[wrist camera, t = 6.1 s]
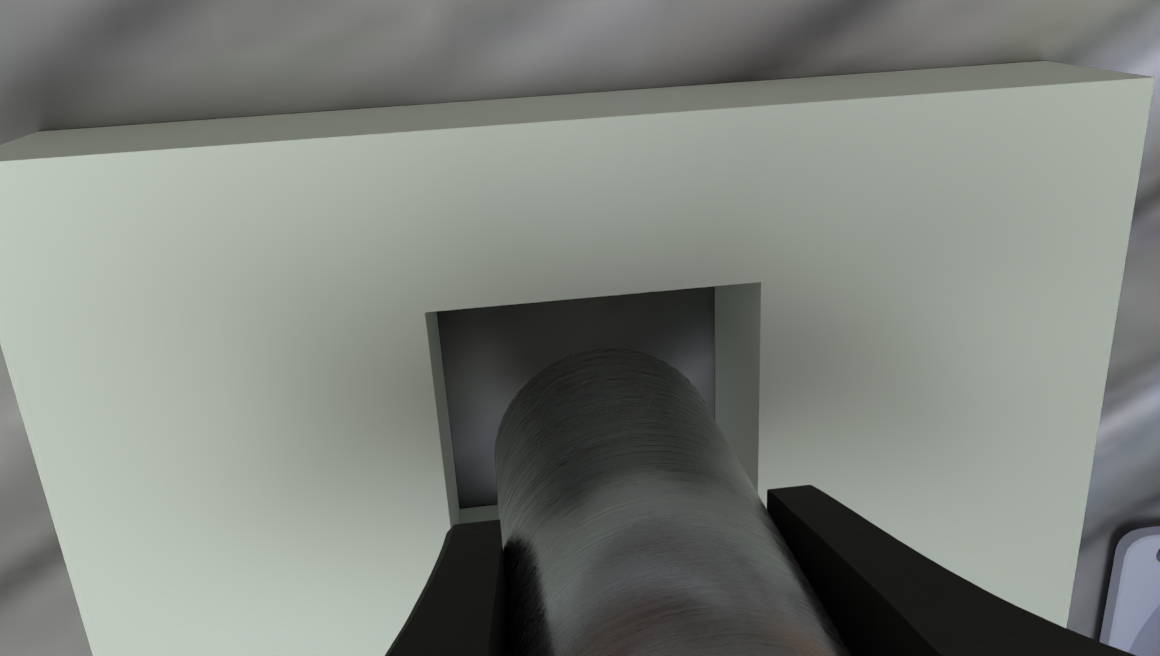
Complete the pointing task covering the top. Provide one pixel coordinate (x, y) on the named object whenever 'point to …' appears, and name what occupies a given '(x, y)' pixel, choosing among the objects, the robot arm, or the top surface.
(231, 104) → the top surface
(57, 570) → the top surface
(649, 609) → the peg
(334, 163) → the hole block
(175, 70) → the top surface
